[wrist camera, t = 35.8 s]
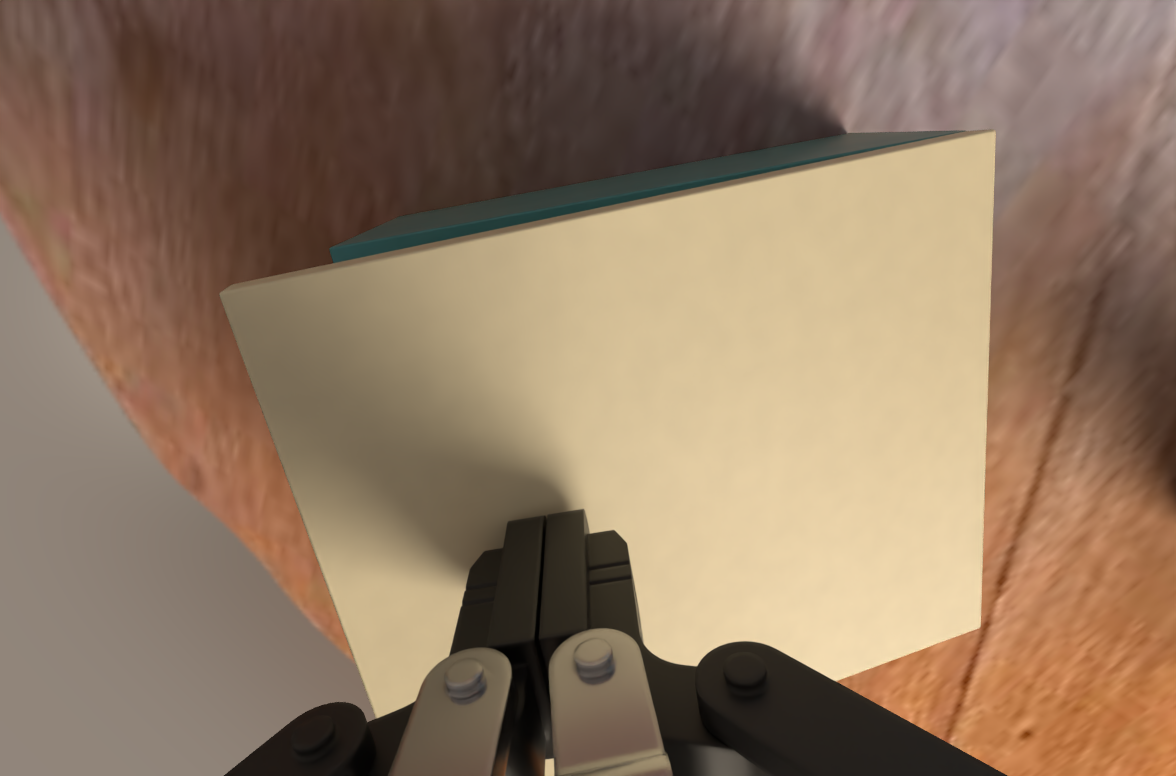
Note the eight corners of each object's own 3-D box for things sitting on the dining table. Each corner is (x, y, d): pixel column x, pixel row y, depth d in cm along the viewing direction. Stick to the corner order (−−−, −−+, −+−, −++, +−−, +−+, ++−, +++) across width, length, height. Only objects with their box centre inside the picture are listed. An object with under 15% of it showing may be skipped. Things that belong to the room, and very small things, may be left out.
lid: (418, 805, 15) (418, 837, 15) (229, 284, 11) (216, 292, 11) (957, 609, 18) (981, 628, 17) (965, 130, 14) (997, 128, 13)
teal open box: (488, 554, 25) (462, 686, 19) (398, 216, 20) (328, 247, 15) (864, 492, 24) (959, 607, 18) (850, 132, 20) (968, 130, 14)
